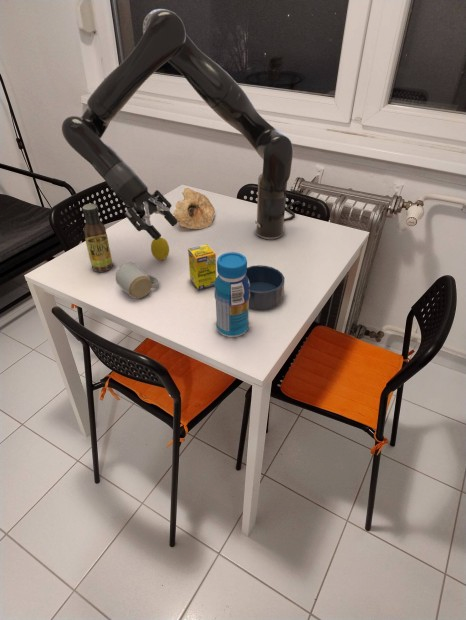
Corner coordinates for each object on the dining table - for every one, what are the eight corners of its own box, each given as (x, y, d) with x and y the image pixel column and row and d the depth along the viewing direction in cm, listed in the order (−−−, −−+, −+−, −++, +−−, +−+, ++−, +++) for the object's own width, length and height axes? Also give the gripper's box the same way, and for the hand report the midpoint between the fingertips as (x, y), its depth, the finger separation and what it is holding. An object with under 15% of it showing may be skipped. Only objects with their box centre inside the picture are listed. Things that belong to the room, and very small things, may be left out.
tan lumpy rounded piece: (208, 244, 145) (212, 231, 139) (169, 235, 143) (171, 221, 136) (214, 207, 154) (218, 193, 147) (177, 198, 152) (180, 184, 145)
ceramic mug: (132, 304, 108) (127, 280, 103) (117, 290, 112) (112, 267, 108) (165, 289, 113) (162, 266, 108) (150, 277, 118) (146, 254, 113)
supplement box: (198, 291, 112) (195, 258, 105) (190, 281, 116) (187, 248, 109) (217, 286, 114) (216, 253, 107) (208, 275, 118) (207, 243, 111)
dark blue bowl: (247, 278, 117) (247, 261, 113) (288, 289, 113) (290, 271, 109) (229, 303, 108) (228, 285, 104) (273, 315, 104) (275, 297, 100)
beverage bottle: (210, 333, 99) (206, 265, 86) (223, 313, 105) (221, 246, 92) (242, 342, 96) (243, 273, 84) (253, 320, 102) (256, 253, 90)
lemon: (167, 265, 123) (164, 242, 118) (150, 263, 123) (146, 240, 118) (172, 256, 127) (170, 233, 122) (156, 254, 128) (153, 232, 123)
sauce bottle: (94, 275, 119) (77, 213, 106) (90, 264, 123) (74, 204, 110) (116, 270, 121) (102, 208, 108) (111, 260, 125) (98, 200, 113)
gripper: (115, 185, 98) (160, 236, 102) (148, 166, 108) (188, 213, 112) (102, 202, 103) (146, 249, 107) (134, 182, 113) (173, 226, 117)
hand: (167, 231), depth 109 cm, fingers open, 8 cm apart
